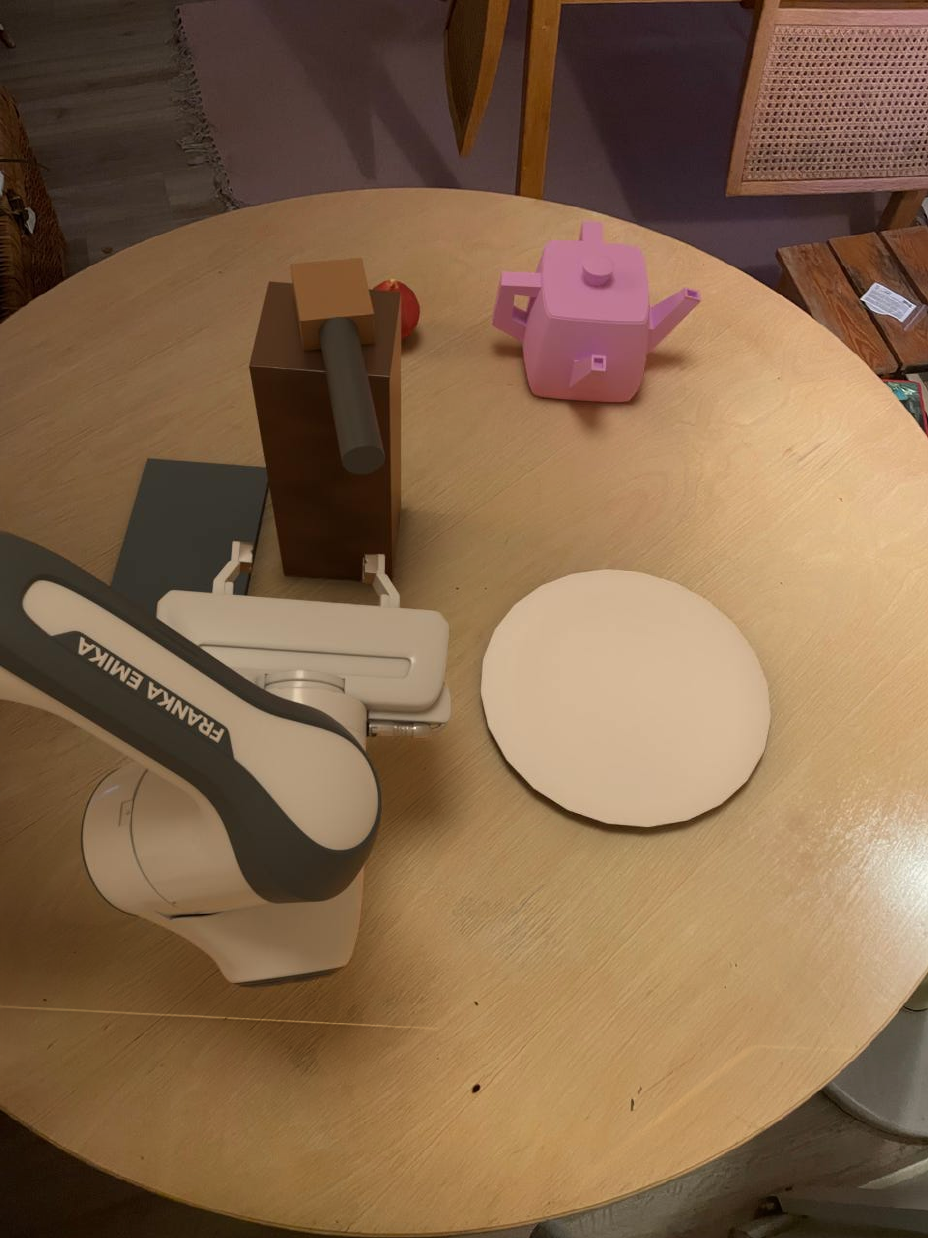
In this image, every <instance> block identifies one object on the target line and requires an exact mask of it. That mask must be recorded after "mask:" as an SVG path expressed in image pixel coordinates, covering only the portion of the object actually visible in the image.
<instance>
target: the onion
mask: <svg viewBox="0 0 928 1238" xmlns="http://www.w3.org/2000/svg"><path fill="white" fill-rule="evenodd" d="M372 290H385V291H398V292H401V340H403V339H404V338H406V337H408V336H409V335H410V334H411V333H412V332H413V331H414V330H415V328H416V327H418V324H419V320H420V315H421V306H420V303H419V300H418V298H417V295H416V294H415V292H414V291H413V290H412V289H411V288H410V287H409V286H408V285H406V284H405V283H403V282H401V281H399V280H398V279H396V278H390V279H388V280H384V281H382V282H380V283H379V284H377V285H376V286H374V287H373V288H372Z"/></svg>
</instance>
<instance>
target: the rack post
mask: <svg viewBox="0 0 928 1238" xmlns="http://www.w3.org/2000/svg"><path fill="white" fill-rule="evenodd" d="M369 293H370V297H371V301H372V306H373V310H374V323H375V343H374V344H365V345H361V346H362V351H363V356H364V361H365V365H366V370H367V375H368V379H369V384H370V389H371V394H372V398H373V403H374V408H375V413H376V417H377V422H378V427H379V432H380V436H381V441H382V446H383V451H384V455H385V459H384V462H383V464H382V465H381V467H380V468H378V469H377V470H375V471H373V472H371V473H367V474H354V473H351V472H349V471H347V470H346V469H345V468H344V467H343V465H342V460H341V455H340V449H339V444H338V438H337V433H336V427H335V422H334V416H333V411H332V405H331V400H330V394H329V389H328V383H327V378H326V372H325V367H324V361H323V356H322V350H321V349H316V350H307V351H303V347H302V341H301V335H300V329H299V323H298V317H297V311H296V305H295V299H294V293H293V284H292V282H284V281H283V282H282V281H271V280H270V281H268V283H267V287H266V291H265V296H264V300H263V304H262V309H261V313H260V318H259V322H258V326H257V330H256V335H255V339H254V343H253V347H252V350H251V351H252V352H251V356H250V360H249V364H248V369H249V375H250V380H251V386H252V393H253V398H254V404H255V405H254V406H255V410H256V416H257V423H258V429H259V435H260V440H261V446H262V452H263V458H264V463H265V464H264V465H265V467H266V471H267V477H268V482H269V487H268V489H269V494H270V500H271V505H272V511H273V516H274V517H273V519H274V524H275V530H276V536H277V541H278V548H279V553H280V559H281V566H282V571H283V576H288V577H289V576H292V577H305V578H318V579H331V580H343V581H344V580H345V581H358V582H362V572H363V571H362V560H363V558H364V553H372V554H384V555H385V574H386V575H387V576H388V578H389V579H390V581H391V582H392V584H393V583H394V575H395V573H394V572H395V565H396V556H397V549H398V548H397V547H398V540H399V539H398V538H399V529H400V519H401V513H402V339H401V292H398V291H385V290H373V288H371V289H370V288H369Z"/></svg>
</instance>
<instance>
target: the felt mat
mask: <svg viewBox="0 0 928 1238" xmlns="http://www.w3.org/2000/svg"><path fill="white" fill-rule="evenodd" d="M268 492H269V482H268V477H267V471H266V466H253V465H242V464H241V465H240V464H228V463H227V464H226V463H216V462H202V461H190V460H189V461H188V460H174V459H164V458H163V459H162V458H151V457H150V458H149V457H147V459H146V462H145V466H144V469H143V472H142V475H141V479H140V483H139V486H138V490H137V493H136V497H135V500H134V503H133V506H132V509H131V512H130V513H131V514H130V517H129V520H128V525H127V528H126V531H125V534H124V538H123V542H122V545H121V548H120V551H119V555H118V558H117V562H116V566H115V569H114V572H113V576H112V580H111V583H110V585H109V586H110V587H112V588H113V589H115V590H116V591H118V592H119V593H121V594H122V595H124V596H125V597H127V598H128V599H130V600H131V601H133V602H134V603H136V604H137V605H138V606H140V607H141V608H143V609H144V610H146V611H147V612H149V613H150V614H152V615H153V616H155V617H156V614H157V603H158V601H159V600H160V599H161V598H162V597H163V596H164V595H166V594H167V593H168V592H169V591H171V590H180V591H192V592H205V593H212V591H213V580H214V579H215V578H216V577H217V575H218V574H219V573H220V572H221V571H222V569H223V568H224V567H225V566H226V564H227V563H228V562H229V561H231V557H232V544H233V541H237V542H248V543H253V557H252V566H253V565H254V562H255V561H254V560H255V556H256V555H255V554H256V549H257V545H258V542H259V541H258V540H259V535H260V530H261V526H262V520H263V516H264V510H265V505H266V501H267V497H268ZM239 548H240V547H239ZM252 570H253V567H252V568H251V571H252ZM251 575H252V573H251V574H248V573H240V574H239V575H238V576H237V578H236V579H235V580H234V582H233V595H243V596H248V589H249V586H250V581H251Z"/></svg>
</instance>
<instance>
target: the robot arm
mask: <svg viewBox="0 0 928 1238" xmlns="http://www.w3.org/2000/svg"><path fill="white" fill-rule="evenodd" d="M239 547H240V548H239ZM252 557H253V543H248V542H237V541H233V544H232V557H231V561H229V562H228V563H227V564H226V566H225V567H224V568H223V569H222V571H221V572H220V573H219V574H218V575H217V577H216V578H215V579H214V580H213V591H212V593H205V592H192V591H180V590H171V591H169V592H168V593H167V594H166V595H164V596H163V597H162V598H161V599H160V600H159V601H158V603H157V614H156V617H155V616H153V615H152V614H150V613H149V612H147V611H146V610H144V609H143V608H141V607H140V606H138V605H137V604H136V603H134V602H133V601H131V600H130V599H128V598H127V597H125V596H124V595H122V594H121V593H119V592H118V591H116V590H115V589H113V588H112V587H110V586H111V585H109V584H107V583H106V582H104V581H102V580H101V579H100V578H98V577H96V576H95V575H93V574H92V573H90V572H89V571H87V570H85V569H84V568H83V567H81V566H79V565H77V564H75V562H72V561H71V560H69V559H67V558H66V557H63V556H62V555H60V554H58V553H57V552H55V551H53V550H51V549H49V548H47V547H45V546H43V545H41V544H39V543H37V542H34V541H32V540H29V539H27V538H24V537H21V536H20V535H17V534H14V533H12V532H9V531H5V530H2V529H0V700H1V701H8V702H13V703H18V704H23V705H26V706H29V707H30V706H31V707H33V708H36V709H40V710H43V711H45V712H48V713H51V714H53V715H55V716H57V717H60V718H62V719H64V720H67V721H68V722H69V723H72V724H73V725H75V726H77V727H78V728H80V729H82V730H83V731H85V732H86V733H88V734H90V735H91V736H93V737H94V738H96V739H98V740H100V741H101V742H103V743H104V744H106V745H108V746H109V747H110V748H113V749H114V750H116V751H118V752H119V753H121V754H123V755H124V756H125V757H127V758H129V759H131V760H132V761H131V762H128V763H127V764H124V765H123V766H119V767H118V768H115V769H114V770H113V771H111V772H109V773H108V774H107V775H106V776H104V777H103V778H102V779H101V780H100V781H99V783H98V784H97V785H96V786H95V788H94V789H93V791H92V793H91V795H90V796H89V798H88V801H87V803H86V806H85V808H84V812H83V816H82V821H81V827H80V849H81V855H82V860H83V861H82V862H83V864H84V868H85V871H86V873H87V876H88V878H89V880H90V881H91V884H92V885H93V888H94V889H95V890H96V892H97V893H98V895H99V896H100V897H101V898H102V899H103V900H104V901H105V902H106V903H108V905H109V906H111V907H112V908H114V909H115V910H116V911H118V912H121V913H122V914H126V915H128V916H132V917H140V918H142V919H145V920H147V921H149V922H151V923H153V924H155V925H156V924H157V925H158V926H160V927H162V928H165V929H167V930H169V931H171V932H172V933H175V934H177V935H178V936H180V937H181V938H183V939H185V940H187V941H188V942H190V943H191V944H192V945H194V946H196V947H197V948H199V950H201V951H202V952H204V953H205V954H206V955H207V956H208V957H210V958H211V959H212V960H213V962H214V963H215V964H216V966H217V967H218V969H219V971H220V972H221V974H222V975H223V977H224V978H225V980H226V981H228V982H229V983H231V984H233V985H235V986H240V987H241V988H246V989H247V988H248V989H259V988H270V987H275V986H276V987H277V986H283V985H288V984H295V983H296V984H297V983H305V982H311V981H316V980H321V979H325V978H328V977H332V976H334V975H336V974H338V972H339V971H340V970H342V969H343V968H345V967H346V966H347V965H348V963H349V962H350V960H351V958H352V955H353V952H354V949H355V945H356V941H357V938H358V934H359V928H360V922H361V914H362V906H363V894H364V881H365V879H364V878H365V864H366V862H367V860H368V858H369V857H370V854H371V852H372V850H373V848H374V846H375V844H376V841H377V837H378V834H379V830H380V826H381V820H382V811H383V809H382V808H383V796H382V789H381V784H380V780H379V776H378V773H377V771H376V768H375V766H374V764H373V762H372V760H371V758H370V756H369V755H368V753H367V738H369V737H370V738H400V737H401V738H410V739H414V740H426V739H427V740H428V739H430V738H431V736H432V735H433V734H438V733H440V732H442V731H443V730H444V729H445V728H446V727H447V726H448V725H449V723H450V721H451V717H452V695H451V691H450V688H449V686H448V684H446V682H445V681H444V679H445V675H446V669H447V662H448V653H449V642H450V641H449V640H450V624H449V622H448V621H447V620H446V618H445V617H444V616H443V615H442V613H441V612H440V611H438V610H433V609H420V608H409V607H401V595H400V593H399V592H398V590H397V589H396V587H395V586H394V584H393V583H392V582H391V581H390V579H389V578H388V576H387V575H386V574H385V555H384V554H372V553H364V558H363V560H362V571H363V572H362V581H361V584H368V585H372V587H373V588H374V591H375V592H376V594H377V596H378V598H379V599H378V602H377V605H369V604H358V603H356V604H355V603H345V602H344V603H343V602H333V601H332V602H330V601H318V600H307V599H293V598H279V597H267V596H255V595H246V596H243V595H233V582H234V580H235V579H236V578H237V576H238V575H239V574H240V573H248V574H251V575H252V570H251V568H252V569H253V565H252ZM432 726H435V727H432Z"/></svg>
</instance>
